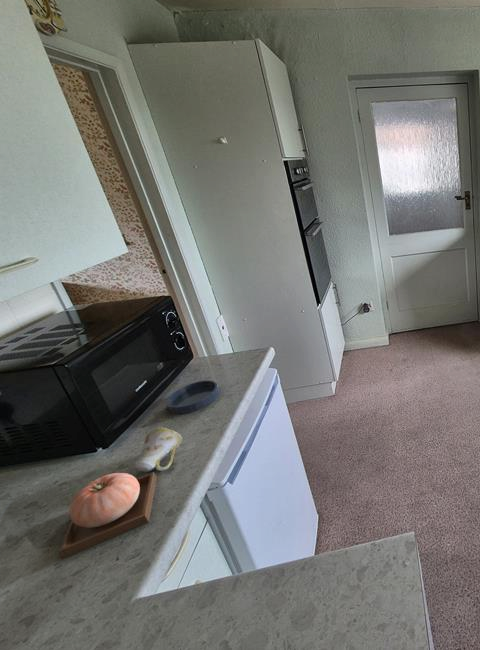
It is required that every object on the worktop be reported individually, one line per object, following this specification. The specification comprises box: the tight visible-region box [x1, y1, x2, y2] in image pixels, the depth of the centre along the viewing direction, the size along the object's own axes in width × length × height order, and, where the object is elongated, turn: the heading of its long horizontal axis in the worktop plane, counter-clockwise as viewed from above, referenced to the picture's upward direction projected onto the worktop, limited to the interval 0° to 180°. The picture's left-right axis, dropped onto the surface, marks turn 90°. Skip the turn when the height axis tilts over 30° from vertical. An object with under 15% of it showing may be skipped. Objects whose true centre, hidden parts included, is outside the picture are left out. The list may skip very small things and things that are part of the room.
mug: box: [134, 427, 183, 473], centre depth 92 cm, size 8×10×10 cm
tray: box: [57, 471, 158, 559], centre depth 78 cm, size 13×13×2 cm
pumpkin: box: [68, 472, 140, 528], centre depth 77 cm, size 11×11×8 cm
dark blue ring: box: [165, 379, 221, 415], centre depth 114 cm, size 13×13×2 cm
